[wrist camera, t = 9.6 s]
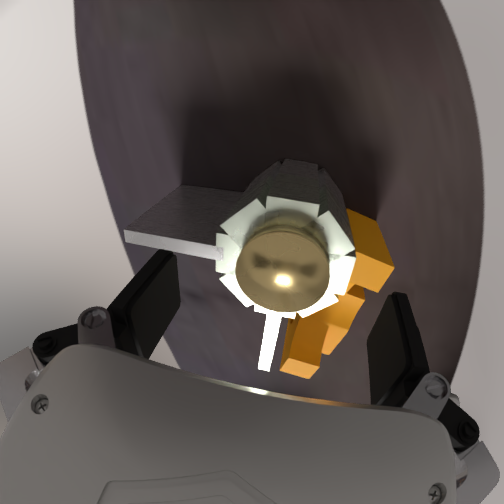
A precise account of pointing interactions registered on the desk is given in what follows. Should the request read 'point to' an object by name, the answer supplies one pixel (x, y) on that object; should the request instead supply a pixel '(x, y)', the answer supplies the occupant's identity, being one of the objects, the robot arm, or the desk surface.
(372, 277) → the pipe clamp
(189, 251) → the hinge
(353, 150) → the desk surface
